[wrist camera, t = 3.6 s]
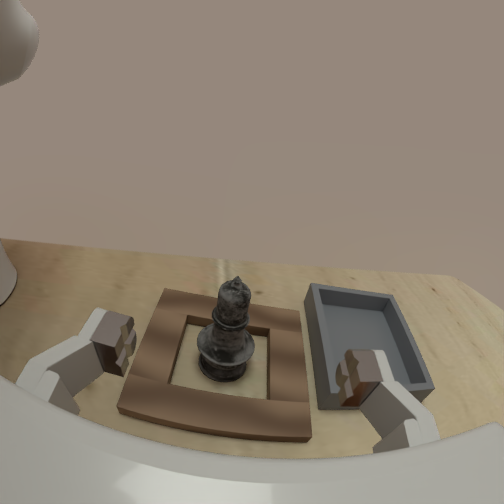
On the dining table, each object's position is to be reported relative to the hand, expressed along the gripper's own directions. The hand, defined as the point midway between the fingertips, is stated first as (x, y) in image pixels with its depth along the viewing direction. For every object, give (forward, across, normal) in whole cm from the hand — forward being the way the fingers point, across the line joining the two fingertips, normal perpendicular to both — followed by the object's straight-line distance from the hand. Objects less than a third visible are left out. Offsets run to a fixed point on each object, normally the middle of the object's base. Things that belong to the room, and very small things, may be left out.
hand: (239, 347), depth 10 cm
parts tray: (+16, -17, +18) cm, 30 cm away
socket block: (+12, 0, +18) cm, 21 cm away
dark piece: (+12, 0, +18) cm, 22 cm away
